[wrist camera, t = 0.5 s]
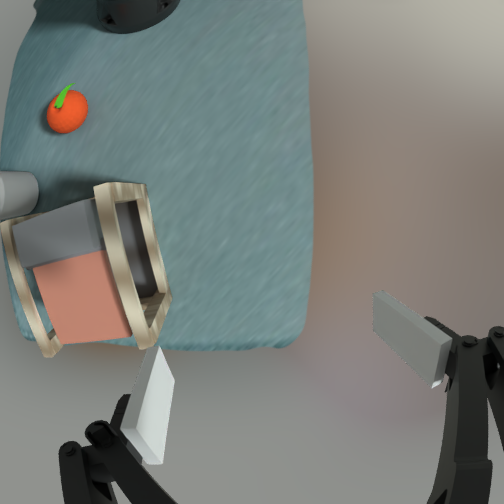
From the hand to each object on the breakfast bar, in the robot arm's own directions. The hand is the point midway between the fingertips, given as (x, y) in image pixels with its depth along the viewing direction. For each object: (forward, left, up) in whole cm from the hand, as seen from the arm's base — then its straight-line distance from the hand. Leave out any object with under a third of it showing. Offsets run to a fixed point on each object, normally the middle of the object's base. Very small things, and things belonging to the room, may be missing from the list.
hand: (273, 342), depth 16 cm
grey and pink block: (-3, -20, -17) cm, 27 cm away
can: (-17, -35, -28) cm, 48 cm away
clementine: (-27, -22, -28) cm, 44 cm away
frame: (-3, -20, -27) cm, 34 cm away
